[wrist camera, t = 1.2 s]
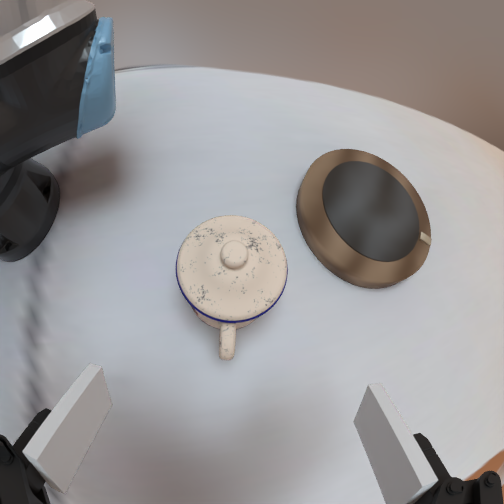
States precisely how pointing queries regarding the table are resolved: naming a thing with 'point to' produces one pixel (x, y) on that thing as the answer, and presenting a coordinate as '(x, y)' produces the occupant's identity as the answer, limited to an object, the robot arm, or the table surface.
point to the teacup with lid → (231, 274)
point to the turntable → (363, 219)
